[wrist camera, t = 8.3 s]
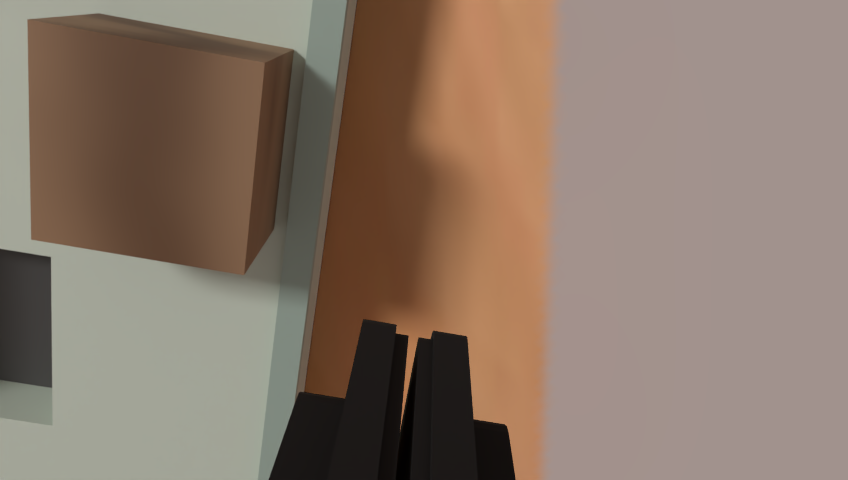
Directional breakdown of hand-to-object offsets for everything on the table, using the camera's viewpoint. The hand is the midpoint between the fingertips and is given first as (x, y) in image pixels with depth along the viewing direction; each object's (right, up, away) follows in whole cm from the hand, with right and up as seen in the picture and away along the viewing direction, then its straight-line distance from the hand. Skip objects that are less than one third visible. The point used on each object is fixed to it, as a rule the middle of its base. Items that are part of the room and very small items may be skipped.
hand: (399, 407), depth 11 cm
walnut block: (-7, +6, +11) cm, 15 cm away
